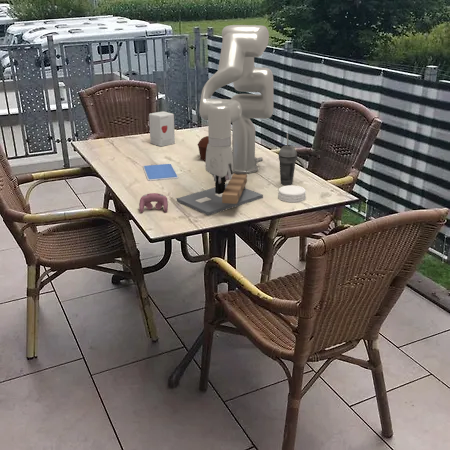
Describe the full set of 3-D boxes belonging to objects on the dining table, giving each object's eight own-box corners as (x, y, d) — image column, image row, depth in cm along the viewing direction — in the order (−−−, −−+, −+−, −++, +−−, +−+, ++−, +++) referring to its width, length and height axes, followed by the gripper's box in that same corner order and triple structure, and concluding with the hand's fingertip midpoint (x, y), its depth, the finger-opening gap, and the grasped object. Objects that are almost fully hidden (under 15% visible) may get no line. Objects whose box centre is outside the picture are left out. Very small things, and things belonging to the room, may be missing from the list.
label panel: (230, 185, 217) (230, 175, 215) (262, 197, 204) (263, 186, 203) (176, 201, 201) (176, 190, 199) (208, 215, 189) (208, 203, 187)
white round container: (310, 197, 205) (311, 188, 203) (295, 205, 198) (295, 195, 196) (288, 191, 211) (288, 183, 209) (272, 198, 204) (272, 189, 203)
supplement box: (160, 147, 270) (159, 116, 264) (150, 143, 276) (148, 113, 270) (175, 143, 275) (174, 113, 269) (164, 140, 281) (163, 110, 276)
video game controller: (168, 213, 195) (168, 193, 195) (167, 212, 190) (167, 191, 191) (140, 213, 195) (139, 194, 195) (138, 212, 190) (138, 192, 190)
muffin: (192, 158, 252) (192, 136, 248) (211, 153, 259) (210, 132, 255) (209, 163, 244) (209, 141, 240) (228, 158, 250) (228, 137, 247)
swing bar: (234, 178, 211) (235, 171, 209) (248, 179, 210) (248, 171, 209) (222, 202, 187) (222, 194, 186) (236, 203, 186) (236, 195, 185)
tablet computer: (178, 180, 225) (178, 176, 225) (147, 182, 223) (147, 179, 222) (171, 166, 243) (171, 163, 242) (142, 168, 240) (142, 165, 239)
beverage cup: (281, 187, 214) (283, 136, 207) (274, 181, 221) (276, 132, 213) (298, 185, 216) (301, 135, 208) (291, 180, 223) (293, 131, 215)
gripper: (197, 139, 189) (198, 189, 197) (225, 148, 179) (226, 201, 186) (214, 135, 194) (214, 184, 201) (243, 143, 183) (242, 195, 191)
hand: (220, 192), depth 194 cm, fingers closed
